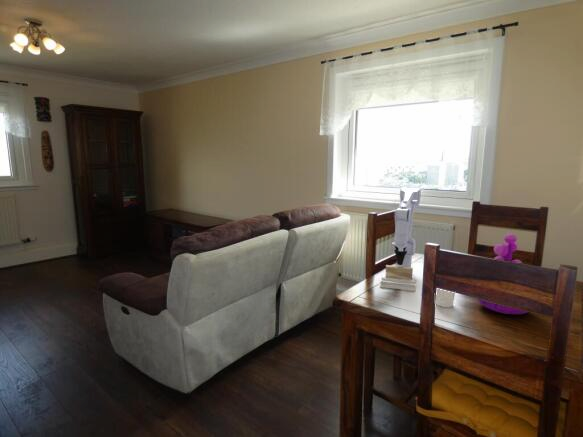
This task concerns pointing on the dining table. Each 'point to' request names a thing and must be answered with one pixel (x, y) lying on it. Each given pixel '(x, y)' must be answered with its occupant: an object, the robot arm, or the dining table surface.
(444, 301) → the white cup
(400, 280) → the track board
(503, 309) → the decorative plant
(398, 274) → the tan rectangular block
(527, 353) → the dining table surface
